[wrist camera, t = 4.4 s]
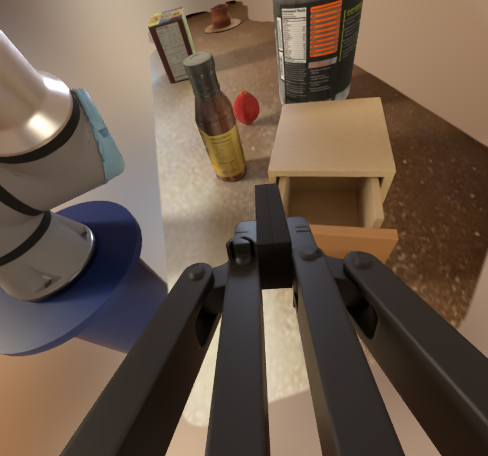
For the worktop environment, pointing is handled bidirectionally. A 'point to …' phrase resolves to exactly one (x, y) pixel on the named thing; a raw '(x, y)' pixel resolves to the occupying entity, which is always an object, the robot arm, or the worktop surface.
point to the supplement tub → (315, 48)
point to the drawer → (340, 213)
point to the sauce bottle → (215, 118)
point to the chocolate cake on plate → (221, 19)
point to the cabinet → (333, 141)
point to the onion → (246, 108)
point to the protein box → (172, 41)
